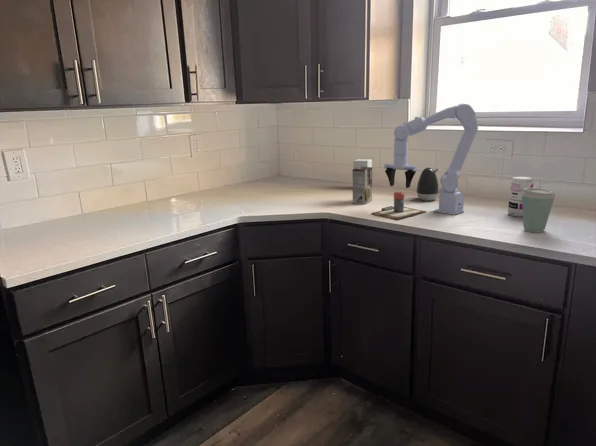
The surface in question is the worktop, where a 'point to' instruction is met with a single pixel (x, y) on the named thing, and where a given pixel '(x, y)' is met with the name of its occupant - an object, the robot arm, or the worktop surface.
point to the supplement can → (518, 194)
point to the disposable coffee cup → (536, 208)
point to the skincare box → (362, 163)
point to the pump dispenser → (428, 185)
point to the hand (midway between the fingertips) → (399, 186)
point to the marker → (398, 202)
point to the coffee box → (362, 185)
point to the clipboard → (389, 213)
